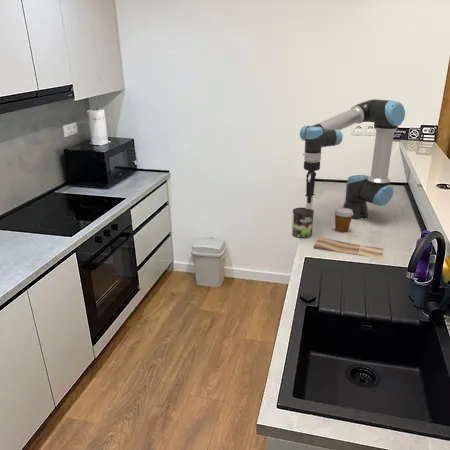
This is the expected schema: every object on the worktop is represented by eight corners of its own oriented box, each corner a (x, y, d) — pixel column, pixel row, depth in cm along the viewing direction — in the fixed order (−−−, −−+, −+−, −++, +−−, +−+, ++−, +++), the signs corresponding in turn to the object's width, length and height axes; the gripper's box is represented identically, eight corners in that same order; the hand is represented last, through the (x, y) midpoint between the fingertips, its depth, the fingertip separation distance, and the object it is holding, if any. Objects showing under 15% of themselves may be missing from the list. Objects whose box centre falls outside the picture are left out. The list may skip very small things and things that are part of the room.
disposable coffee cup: (353, 231, 224) (356, 209, 220) (347, 236, 217) (349, 214, 213) (336, 227, 229) (338, 206, 225) (329, 233, 222) (331, 211, 218)
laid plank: (360, 247, 204) (360, 245, 204) (383, 250, 201) (383, 248, 200) (357, 257, 194) (357, 255, 194) (381, 261, 190) (381, 258, 190)
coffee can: (315, 239, 214) (317, 212, 209) (296, 241, 211) (298, 214, 206) (306, 232, 223) (307, 206, 218) (288, 234, 221) (289, 208, 216)
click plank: (318, 239, 211) (318, 236, 211) (360, 247, 204) (360, 245, 204) (313, 248, 201) (313, 246, 200) (357, 257, 194) (357, 255, 194)
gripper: (306, 157, 207) (303, 203, 216) (301, 163, 196) (298, 212, 204) (322, 158, 205) (318, 205, 213) (318, 164, 193) (314, 213, 202)
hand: (309, 208), depth 209 cm, fingers closed
